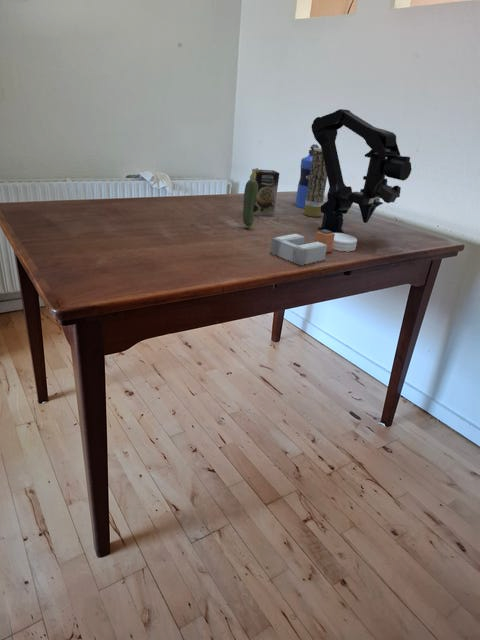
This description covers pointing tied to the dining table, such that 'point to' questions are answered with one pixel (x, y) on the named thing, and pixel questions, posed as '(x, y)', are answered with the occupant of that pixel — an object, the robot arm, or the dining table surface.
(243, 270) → the dining table surface
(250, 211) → the vegetable
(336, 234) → the white round dish
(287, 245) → the housing
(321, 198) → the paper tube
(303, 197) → the water bottle
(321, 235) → the orange cylinder
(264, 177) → the coffee box
